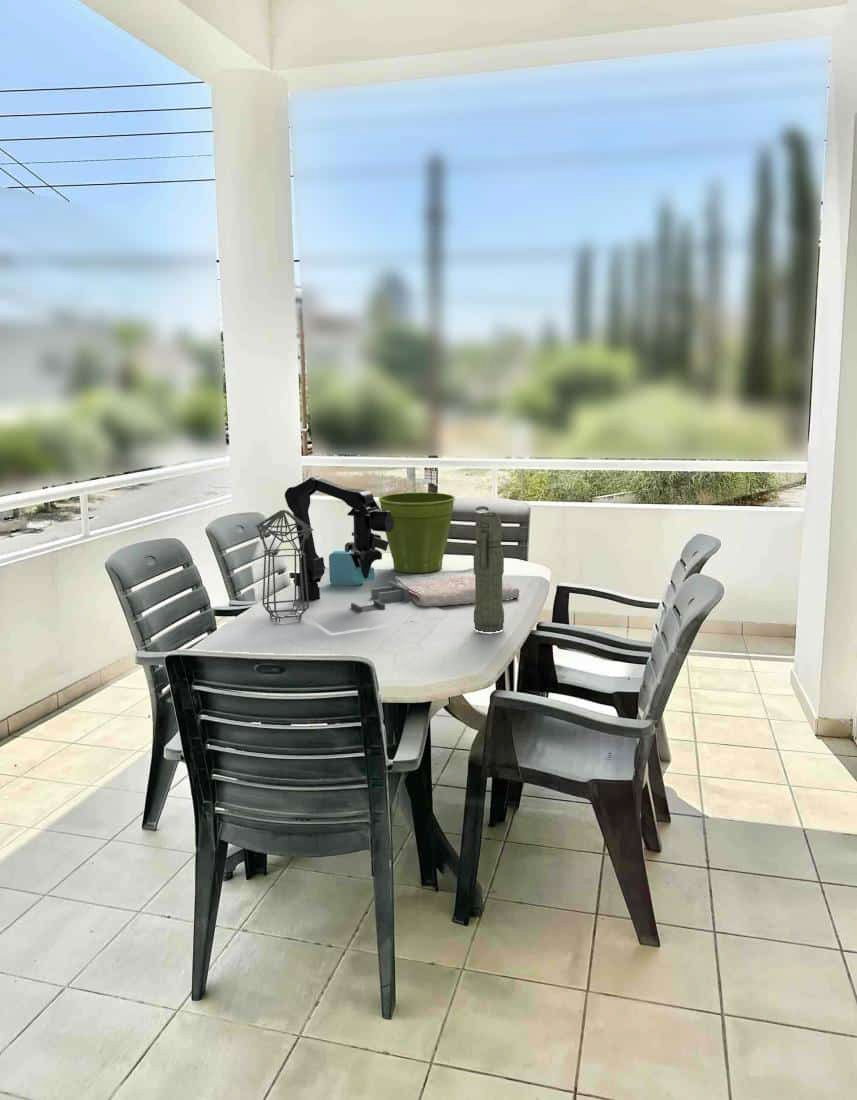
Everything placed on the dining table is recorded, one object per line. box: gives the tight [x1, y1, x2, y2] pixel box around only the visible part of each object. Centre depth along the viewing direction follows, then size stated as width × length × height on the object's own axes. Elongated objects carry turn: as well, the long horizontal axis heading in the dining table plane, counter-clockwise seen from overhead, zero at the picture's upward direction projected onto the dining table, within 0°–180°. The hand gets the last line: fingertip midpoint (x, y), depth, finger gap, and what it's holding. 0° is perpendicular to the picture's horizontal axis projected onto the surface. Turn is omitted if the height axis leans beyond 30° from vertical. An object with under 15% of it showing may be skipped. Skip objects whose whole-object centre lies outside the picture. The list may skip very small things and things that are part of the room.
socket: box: [370, 580, 410, 604], centre depth 295 cm, size 9×14×5 cm, turn 26°
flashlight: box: [473, 512, 505, 632], centre depth 255 cm, size 9×12×35 cm
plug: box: [352, 566, 379, 583], centre depth 284 cm, size 8×4×4 cm, turn 115°
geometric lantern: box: [254, 509, 315, 623], centre depth 270 cm, size 16×16×35 cm
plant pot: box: [378, 492, 456, 574], centre depth 342 cm, size 30×30×29 cm
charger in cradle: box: [350, 599, 386, 613], centre depth 283 cm, size 9×7×2 cm
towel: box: [394, 567, 520, 607], centre depth 303 cm, size 36×34×6 cm
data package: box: [328, 550, 364, 586], centre depth 320 cm, size 12×4×12 cm, turn 79°
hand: (363, 576), depth 284 cm, fingers closed on plug, 4 cm apart
